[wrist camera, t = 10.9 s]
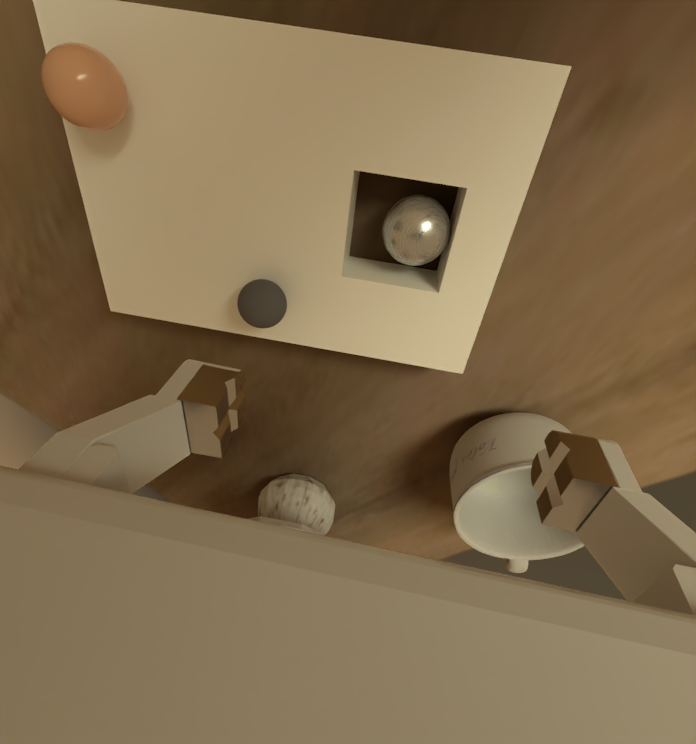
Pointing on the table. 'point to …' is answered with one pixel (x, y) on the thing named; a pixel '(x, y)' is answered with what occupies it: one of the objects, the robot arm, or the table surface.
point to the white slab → (299, 173)
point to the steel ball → (416, 230)
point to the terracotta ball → (84, 86)
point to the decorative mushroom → (296, 504)
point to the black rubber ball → (262, 303)
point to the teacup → (504, 490)
